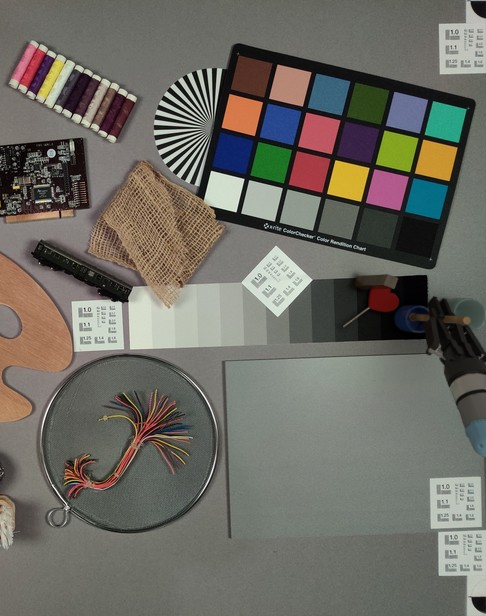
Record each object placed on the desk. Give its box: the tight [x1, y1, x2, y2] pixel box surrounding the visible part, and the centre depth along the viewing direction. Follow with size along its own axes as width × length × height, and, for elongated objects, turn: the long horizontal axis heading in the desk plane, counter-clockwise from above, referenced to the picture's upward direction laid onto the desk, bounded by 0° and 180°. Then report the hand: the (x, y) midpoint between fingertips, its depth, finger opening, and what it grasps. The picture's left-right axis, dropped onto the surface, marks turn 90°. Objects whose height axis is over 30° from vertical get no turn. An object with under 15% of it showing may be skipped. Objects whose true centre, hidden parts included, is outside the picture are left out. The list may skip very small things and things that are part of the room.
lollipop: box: [342, 289, 400, 328], centre depth 143 cm, size 8×1×15 cm
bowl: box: [393, 304, 429, 334], centre depth 141 cm, size 6×6×5 cm
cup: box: [438, 297, 486, 332], centre depth 139 cm, size 8×8×10 cm
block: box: [352, 273, 399, 291], centre depth 137 cm, size 3×3×14 cm
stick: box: [408, 313, 471, 324], centre depth 133 cm, size 2×2×20 cm
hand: (436, 301), depth 134 cm, fingers closed on stick, 2 cm apart
